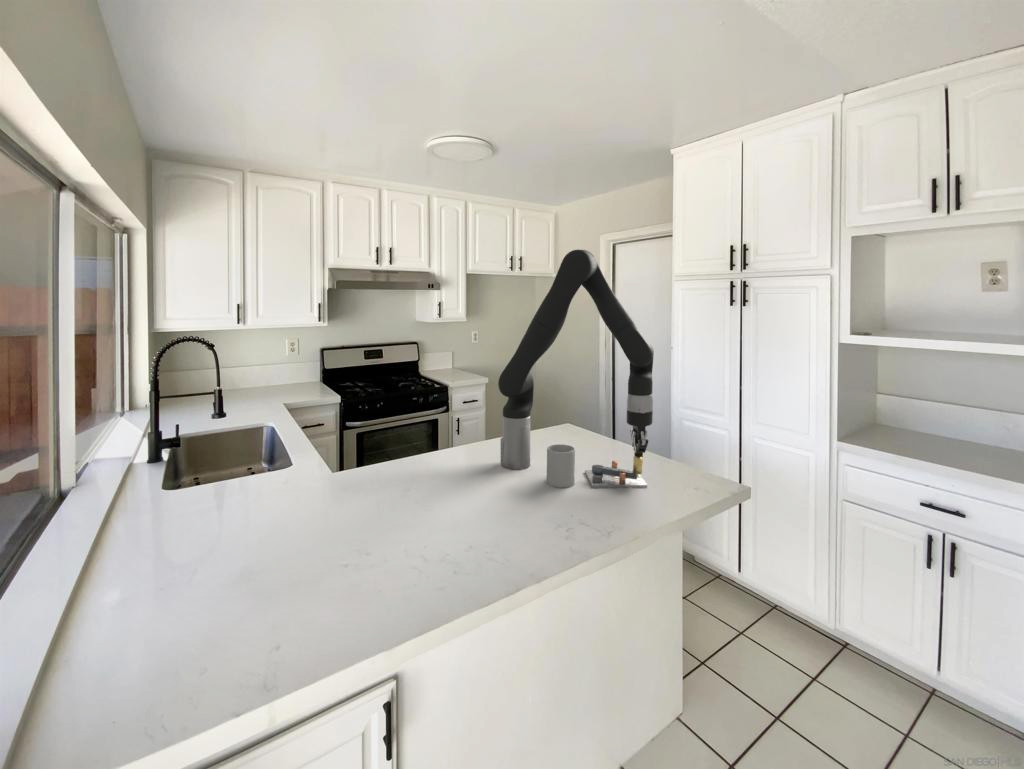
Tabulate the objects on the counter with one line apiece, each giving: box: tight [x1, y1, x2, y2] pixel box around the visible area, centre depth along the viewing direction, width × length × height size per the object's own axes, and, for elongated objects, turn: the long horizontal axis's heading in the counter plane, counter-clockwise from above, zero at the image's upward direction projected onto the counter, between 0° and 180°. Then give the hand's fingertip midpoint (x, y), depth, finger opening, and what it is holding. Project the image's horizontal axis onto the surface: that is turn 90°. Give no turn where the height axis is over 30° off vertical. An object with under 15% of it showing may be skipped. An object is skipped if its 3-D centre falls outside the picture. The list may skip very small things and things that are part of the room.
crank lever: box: [591, 456, 644, 480], centre depth 147 cm, size 15×4×7 cm, turn 64°
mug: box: [546, 443, 576, 489], centre depth 149 cm, size 12×8×11 cm
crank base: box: [584, 460, 648, 489], centre depth 151 cm, size 16×13×4 cm
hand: (638, 463), depth 148 cm, fingers closed
